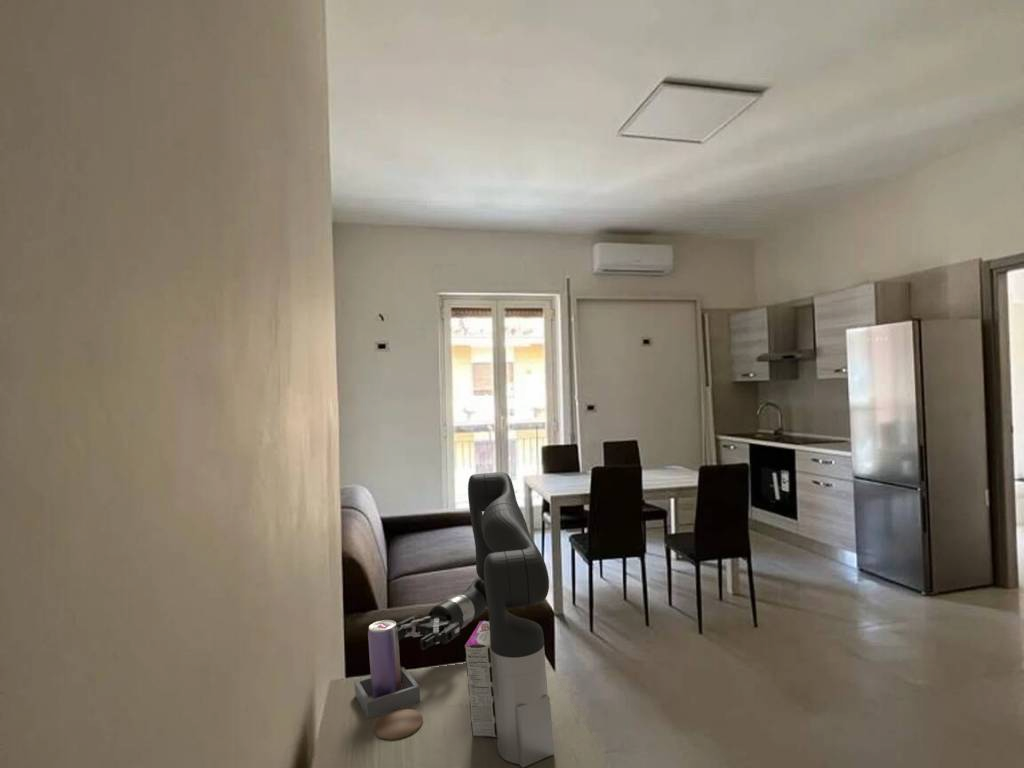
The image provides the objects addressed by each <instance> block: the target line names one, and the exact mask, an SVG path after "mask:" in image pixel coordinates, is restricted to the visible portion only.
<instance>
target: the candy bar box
mask: <svg viewBox="0 0 1024 768" xmlns="http://www.w3.org/2000/svg"><path fill="white" fill-rule="evenodd" d="M464 653H465V664H466V665H465V666H466V676H467V678H466V679H467V686H468V699H469V708H470V709H469V711H470V723H471V736H473V737H478V738H497V728H496V716H495V702H494V688H493V674H492V659H491V644H490V626H489V620H488V621H487V620H480V621H478V624H477V626H476V628H475V629H474V631H473V632H472V634H471V635H470V637H469V639H468V640H467V642H466V643H465V645H464Z"/></svg>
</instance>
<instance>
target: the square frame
mask: <svg viewBox="0 0 1024 768" xmlns="http://www.w3.org/2000/svg"><path fill="white" fill-rule="evenodd" d="M400 673H401V685H402V686H403V687H404V689H403V688H402V690H400V691H397V692H394V693H391V694H388V695H384V696H381V697H378V698H375V699H370V697H369V696H368V694H372V686H371V676H368V677H365V678H361V679H358V680H354V692H355V693H354V695H355V698H356V699H357V701H358V703H359V705H360V707H361V709H362V710H363V712H364V715H365V716H366V718H367V719H368V720H369V719H372V718H375V717H378V716H381V715H383V714H384V715H385V714H387V713H389V712H392V711H396V710H400V709H401V708H405V707H408V706H412V705H413V704H416V703H419V702H421V693H420V692H421V691H420V690H421V689H420V685H419V684H418V682H417V681H415V679H414V678H413V677H412V675H411V674H410V673H409V672H408V671H407V669H406V668H405V667H404V666H400Z"/></svg>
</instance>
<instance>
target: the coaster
mask: <svg viewBox="0 0 1024 768" xmlns="http://www.w3.org/2000/svg"><path fill="white" fill-rule="evenodd" d="M423 722H424V719H423V715H422V714H421V712H419V711H417V710H415V709H408V708H404V709H396V710H393V711H390V712H387V713H384V715H383V714H382V716H381V717H379V718H378V719H377V720H376V721H375V723H374V725H373V732H374V734H375V736H377V737H378V738H381V739H383V740H399V739H403V738H406V737H409V736H411V735H413V734H415V733H416V732H417V731H418V730H420V728H421V727H422V726H423Z"/></svg>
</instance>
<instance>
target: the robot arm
mask: <svg viewBox="0 0 1024 768" xmlns="http://www.w3.org/2000/svg"><path fill="white" fill-rule="evenodd" d="M467 496H468V498H467V499H468V507H469V512H470V513H469V516H470V523H471V528H472V533H473V538H474V546H475V547H474V548H475V570H476V571H475V572H476V575H477V577H475V578H474V580H473V581H472V583H471V584H470V585H469V586H468V587H467V588H466V589H465V590H464V591H463V592H460V593H458V594H457V595H454V596H451V597H449V598H448V599H446V600H444V601H442V602H440V603H438V604H436V605H435V606H433V607H432V608H430V611H429V613H428V614H427V616H424V617H422V618H418V615H415V614H414V615H412V616H410V617H408V618H405V619H403V620H401V621H399V622H396V626H397V628H398V642H400V641H402V640H403V639H405V638H408V637H412V638H417V637H422V638H420V640H419V648H420V650H421V651H422V650H423V651H425V650H426V649H428V648H430V647H431V646H433V645H439V644H440V643H442V645H446V644H448V643H450V642H452V640H454V639H455V638H457V637H458V636H460V634H461V633H460V630H461V629H463V628H465V627H466V626H468V624H470V622H473V621H474V620H475V619H477V618H478V617H480V616H481V615H483V613H484V612H485V610H486V608H487V611H488V621H489V626H490V644H491V659H492V674H493V688H494V702H495V716H496V728H497V737H496V738H497V739H496V741H497V751H498V754H499V756H500V757H501V758H502V759H503V760H505V761H507V762H509V763H511V764H517V765H519V766H520V767H521V768H525V767H528V766H530V765H532V764H535V763H537V762H540V761H541V760H544V759H546V758H548V757H551V756H553V755H554V754H555V749H554V735H553V722H552V721H553V720H552V719H553V718H552V708H551V698H550V695H549V693H548V681H547V680H548V679H547V669H546V668H547V666H546V653H545V638H544V631H543V630H544V629H543V628H542V626H541V625H540V624H539V623H538V622H536V621H534V620H531V619H527V618H524V617H519V616H517V615H514V614H513V613H510V612H509V611H508V610H507V609H510V608H511V609H512V608H517V607H518V608H519V607H526V606H532V605H533V606H535V605H538V604H540V603H542V602H544V601H545V599H546V598H547V596H548V594H549V591H550V577H549V571H548V568H547V565H546V563H545V559H544V557H543V555H542V553H541V551H540V549H539V548H538V546H537V545H536V543H535V542H534V540H533V539H532V537H531V534H530V531H529V528H528V524H527V521H526V519H525V516H524V514H523V512H522V510H521V508H520V506H519V503H518V501H517V496H516V493H515V488H514V484H513V481H512V479H511V477H510V475H509V474H507V472H502V471H501V472H500V471H497V472H496V471H495V472H484V473H483V472H482V473H474V474H471V475H470V476H469V479H468V484H467ZM417 628H418V629H417ZM416 629H417V630H418V632H416ZM423 636H424V637H423Z"/></svg>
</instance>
